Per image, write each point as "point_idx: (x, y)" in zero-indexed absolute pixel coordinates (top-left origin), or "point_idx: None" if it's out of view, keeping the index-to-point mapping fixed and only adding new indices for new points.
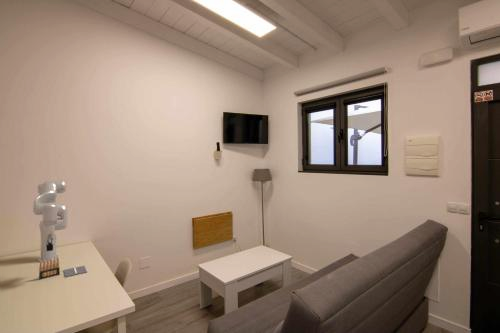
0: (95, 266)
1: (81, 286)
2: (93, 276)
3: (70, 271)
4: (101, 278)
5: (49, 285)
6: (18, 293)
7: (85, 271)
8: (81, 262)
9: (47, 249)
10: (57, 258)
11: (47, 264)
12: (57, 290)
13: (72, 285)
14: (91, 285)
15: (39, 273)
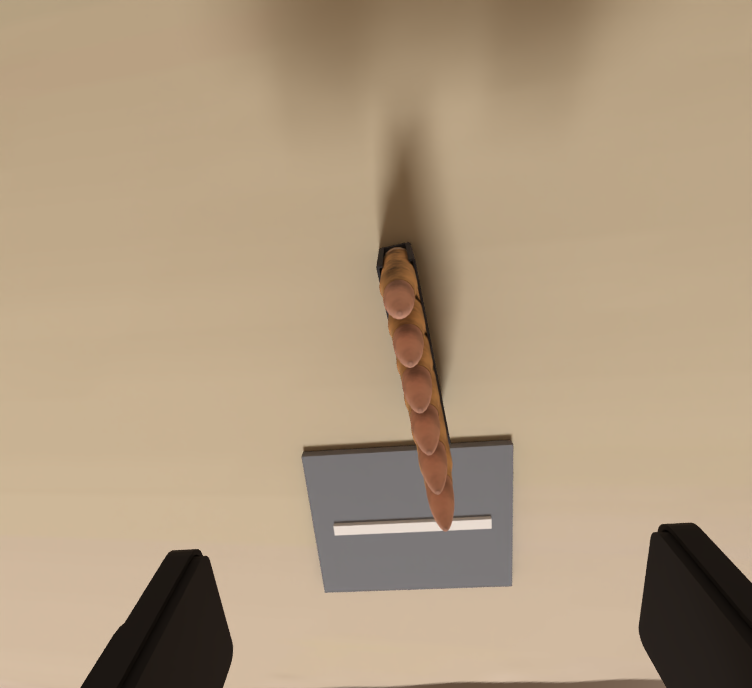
0: (444, 641)
1: (40, 542)
2: None
3: (418, 491)
4: None
5: (166, 346)
6: (81, 105)
7: (337, 584)
8: None
9: (153, 604)
10: (433, 510)
11: (402, 368)
12: (24, 406)
13: (86, 495)
14: (34, 592)
15: (389, 258)
